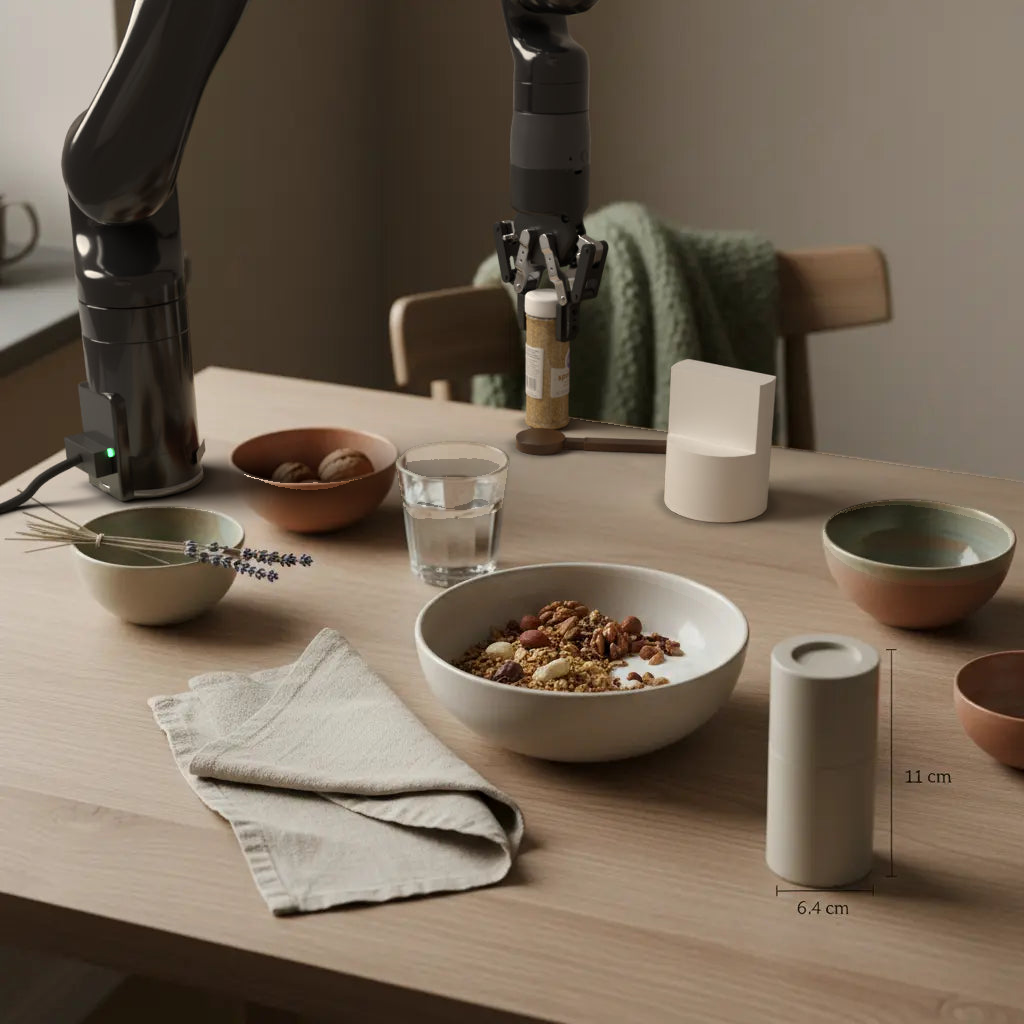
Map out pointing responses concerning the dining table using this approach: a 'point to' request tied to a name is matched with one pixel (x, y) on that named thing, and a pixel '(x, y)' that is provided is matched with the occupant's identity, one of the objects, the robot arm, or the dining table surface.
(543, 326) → the spice jar
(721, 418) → the base with upright slab
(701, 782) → the dining table surface
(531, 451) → the spoon
